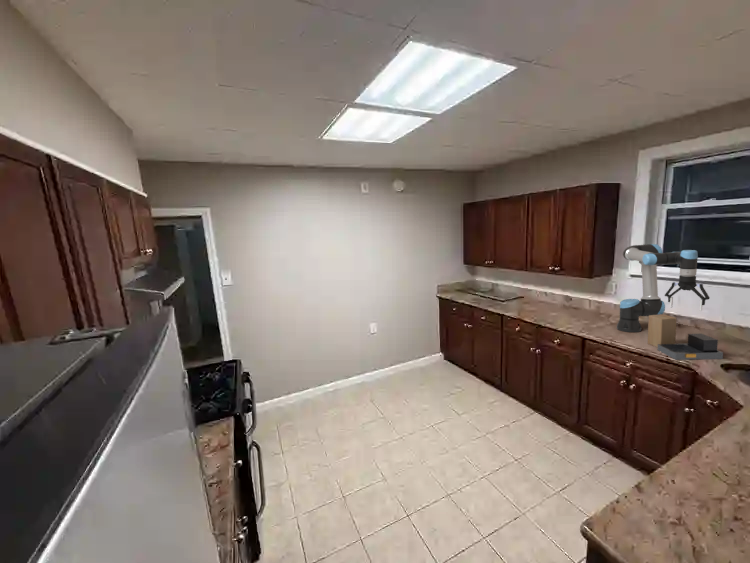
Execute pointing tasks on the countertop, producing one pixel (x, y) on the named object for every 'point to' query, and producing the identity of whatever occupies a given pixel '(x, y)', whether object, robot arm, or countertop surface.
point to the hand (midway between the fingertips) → (685, 308)
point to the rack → (693, 348)
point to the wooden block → (661, 329)
